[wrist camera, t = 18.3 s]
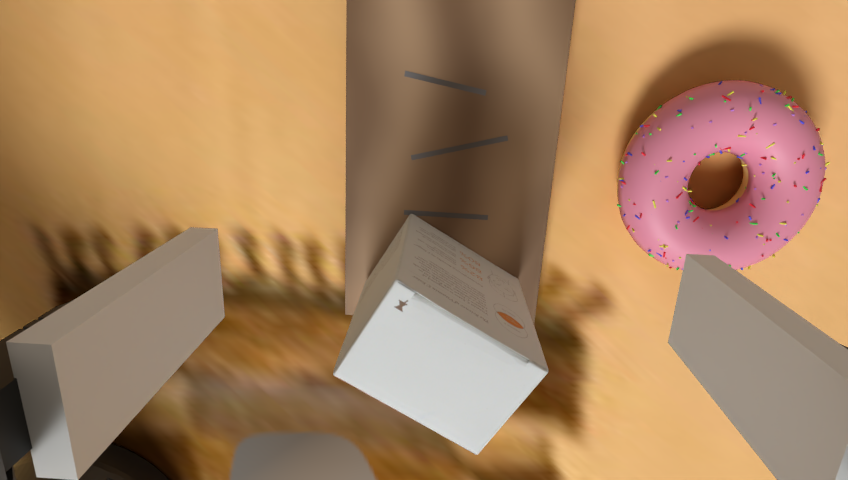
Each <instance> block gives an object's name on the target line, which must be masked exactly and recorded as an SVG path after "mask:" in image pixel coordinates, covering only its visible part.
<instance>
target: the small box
mask: <svg viewBox="0 0 848 480" xmlns="http://www.w3.org/2000/svg"><path fill="white" fill-rule="evenodd" d="M547 373H548V367H547V364H546V361H545V358H544V355H543V352H542V349H541V346H540V343H539V340H538V337H537V333H536V330H535V328H534V324H533V321H532V319H531V315H530V312H529V309H528V307H527V304H526V301H525V298H524V295H523V292H522V289H521V286H520V283H519V280H518V279H517V278H516V277H514V276H512V275H511V274H509V273H507V272H506V271H504V270H503V269H501V268H499V267H498V266H496V265H494V264H493V263H491V262H489V261H488V260H486V259H485V258H483V257H481V256H480V255H478V254H477V253H475V252H473V251H472V250H470V249H468V248H467V247H465V246H464V245H462V244H460V243H459V242H457V241H456V240H454V239H452V238H451V237H449V236H448V235H446V234H444V233H443V232H441V231H439V230H438V229H436V228H434V227H433V226H431V225H430V224H428V223H426V222H425V221H423V220H422V219H420V218H418V217H417V216H416V215H414V214H410V215H409V216H408V218H407V220H406V221H405V223H404V224H403V226H402V227H401V229H400V230H399V232H398V233H397V235H396V236H395V238H394V239H393V241H392V242H391V244H390V245H389V247H388V248H387V250H386V252H385V253H384V255H383V256H382V258H381V259H380V261H379V262H378V264H377V265H376V267H375V268H374V270H373V271H372V273H371V274H370V276H369V277H368V279H367V281H366V282H365V284H364V287H363V290H362V293H361V295H360V298H359V301H358V304H357V307H356V309H355V312H354V315H353V318H352V320H351V323H350V326H349V329H348V332H347V335H346V338H345V340H344V343H343V345H342V348H341V351H340V354H339V356H338V359H337V362H336V365H335V368H334V372H333V375H334V376H335V377H337V378H339V379H341V380H343V381H345V382H346V383H348V384H350V385H352V386H354V387H355V388H357V389H359V390H361V391H362V392H364V393H366V394H368V395H370V396H372V397H373V398H375V399H377V400H379V401H381V402H382V403H384V404H386V405H388V406H390V407H392V408H393V409H395V410H397V411H399V412H401V413H402V414H404V415H406V416H408V417H409V418H411V419H413V420H415V421H417V422H418V423H420V424H422V425H424V426H426V427H428V428H429V429H431V430H433V431H435V432H436V433H438V434H440V435H442V436H443V437H445V438H447V439H449V440H451V441H453V442H454V443H456V444H458V445H460V446H461V447H463V448H465V449H467V450H469V451H470V452H472V453H474V454H475V455H477V454H479V453H480V451H481V450H482V449H483V448H484V447H485V445H486V444H487V443H488V442H489V441H490V440H491V438H492V437H493V436H494V435H495V434H496V433H497V431H498V430H499V429H500V428H501V427H502V426H503V424H504V423H505V422H506V421H507V420H508V419H509V417H510V416H511V415H512V414H513V413H514V412H515V410H516V409H517V408H518V407H519V406H520V405H521V403H522V402H523V401H524V400H525V399H526V398H527V396H528V395H529V394H530V393H531V392H532V391H533V389H534V388H535V387H536V386H537V385H538V384H539V382H540V381H541V380H542V379H543V378H544V377H545V376H546V374H547Z"/></svg>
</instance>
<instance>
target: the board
mask: <svg viewBox="0 0 848 480" xmlns="http://www.w3.org/2000/svg"><path fill="white" fill-rule="evenodd" d="M575 1H576V0H347V38H346V259H345V314H348V315H354V312H355V309H356V307H357V304H358V301H359V298H360V295H361V293H362V290H363V287H364V284H365V282H366V281H367V279H368V277H369V276H370V274H371V273H372V271H373V270H374V268H375V267H376V265H377V264H378V262H379V261H380V259H381V258H382V256H383V255H384V253H385V252H386V250H387V248H388V247H389V245H390V244H391V242H392V241H393V239H394V238H395V236H396V235H397V233H398V232H399V230H400V229H401V227H402V226H403V224H404V223H405V221H406V220H407V218H408V216H409V215H410V214H414V215H416V216H417V217H418V218H420V219H422V220H423V221H425V222H426V223H428V224H430V225H431V226H433V227H434V228H436V229H438V230H439V231H441V232H443V233H444V234H446V235H448V236H449V237H451V238H452V239H454V240H456V241H457V242H459V243H460V244H462V245H464V246H465V247H467V248H468V249H470V250H472V251H473V252H475V253H477V254H478V255H480V256H481V257H483V258H485V259H486V260H488V261H489V262H491V263H493V264H494V265H496V266H498V267H499V268H501V269H503V270H504V271H506V272H507V273H509V274H511V275H512V276H514V277H516V278H517V279H518V280H519V283H520V286H521V289H522V292H523V295H524V298H525V301H526V304H527V307H528V309H529V312H530V315H531V319H532V321H533V324H534V320H535V312H536V305H537V297H538V289H539V281H540V273H541V266H542V258H543V250H544V242H545V235H546V227H547V219H548V211H549V203H550V196H551V188H552V180H553V172H554V165H555V157H556V149H557V141H558V133H559V126H560V118H561V110H562V102H563V95H564V87H565V79H566V71H567V63H568V56H569V48H570V40H571V32H572V25H573V17H574V9H575Z"/></svg>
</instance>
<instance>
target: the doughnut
mask: <svg viewBox="0 0 848 480" xmlns="http://www.w3.org/2000/svg"><path fill="white" fill-rule="evenodd" d="M785 93H786V91H784V93H782V92H780V90H776V89H775V88H772V87H769V86H766V85H763V84H759V83H755V82H750V81H741V80H727V81H718V82H713V83H709V84H705V85H701V86H698V87H695V88H692V89H690V90H687V91H685V92H683V93H681V94H680V95H678V96H676V97H674V98H672V99H671V100H669V101H667V102H666V103H664V104H663V105H660V106H659V107H658V108H657V110H655V111H654V112H653V113H652V114H651V115H650V116H649V117H648V118H647V119H646V120H645V121H644V122H643V123H642V124H641V125H640V127H639V128H638V129H637V131H636V132H635V133H634V135H633V136H632V138H631V140H630V141H629V143H628V145H627V147H626V149H625V152H624V154H623V157H622V160H621V161H620V162H621V163H620V167H619V171H618V178H617V197H618V203H619V204H617V206H619V209H620V214H621V218H622V220H623V223H624V225H625V227H626V229H627V230H628V232H629V233H630V235H631V237H632V238H633V239H634V241H635V242H636V243H637V244H638V245H639V246H640V248H642V249H643V250H644V251H645V252H646V253H648V254H649V256H651V257H653V258H655V259H656V260H658V261H660V262H661V263H663V264H665V265H667V267H668V266H670V267H669V268H672V267H673V268H676V269H677V270H678V269H681V270H683V268H684V263H685V258H686V254H699V255H715V256H716V257H718V258H719V259H720V260H722V261H723V262H725V263H726V264H727V265H729V266H730V267H732V268H733V269H734V270H737V269H741V270H743V268H744V267H747V266H749V267H748V269H750V267H751V265H753V264H756V263H758V262H760V261H762V260H764V259H766V258H768V257H769V256H771V255H772V256H773V258H774V257H775V255H774V253H775V252H777V251H778V250H780V249H781V248H782V247H784V246H785V245H786V244H787V243H788V242H789V241H790V240H791V239H792V238H793V237H794V236H795V235H796V234H797V233H799V231H800V230H801V229H802V227H803V226H804V225H805V223H806V222H807V221H808V219H809V218H810V216H811V214H812V213H813V211H814V209H815V207H816V206H818V204H817V203H818V201H819V200H820V198H819V197H820V194H821V192H822V186H823V181H825V180H826V178H824V175H825V170H826V169H827V168H826V167H825V166H826V165H828V164H829V163H830V162H827V163H826V164H825V156H824V150H823V145H824V144H823V143H822V142H821V139H820V136H819V133H818V130H820V129H819V128H818V129H816V127H815V125H814V124H813V122H812V120H811V119H810V117H809V116H808V115H807V114H806V113H807V111H804V110H803V109H802V108H801V107H800V106H799V105H797V104H796V103H795V102H794V98H792V96H789V97H787V96H786V95H785ZM790 98H792V100H791V99H790ZM717 152H720V153H721V154H722V152H728V153H732V154H734V155H736V156H737V158H739V159H740V160H741V162H742V164H741V166H743V179H742V183H741V185H740V187H739V189H738V191H737V192H736V194H735V195H734V196H733V197H732V198H731V199H730V200H729V201H728V202H727V203H725V204H723V205H722V206H720V207H717V208H714V209H707V210H706V209H702V208H700V207H698V206H697V205H695V203H694V202H693V200H692V199H691V198H690V197H689V195H688V192H692V190H688V182H689V178H690V176H691V174H692V172H693V170H694V169H695V167H696V166H697V165H700V162H701V160H703V159H704V158H705V157H707V158H709V157H710V155H715V153H717Z"/></svg>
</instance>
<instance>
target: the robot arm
mask: <svg viewBox="0 0 848 480" xmlns="http://www.w3.org/2000/svg"><path fill="white" fill-rule="evenodd" d="M224 317H225V314H224V302H223V290H222V278H221V265H220V253H219V241H218V229H213V228H194V227H191V228H189V229H187V230H186V231H184V232H183V233H181V234H179V235H178V236H176V237H174V238H173V239H171V240H170V241H168V242H166V243H165V244H163V245H162V246H160V247H158V248H157V249H155V250H154V251H152V252H150V253H149V254H147V255H145V256H144V257H142V258H141V259H139V260H137V261H136V262H134V263H133V264H131V265H129V266H128V267H126V268H124V269H123V270H121V271H120V272H118V273H116V274H115V275H113V276H112V277H110V278H108V279H107V280H105V281H104V282H102V283H100V284H99V285H97V286H95V287H94V288H92V289H91V290H89V291H87V292H86V293H84V294H83V295H81V296H79V297H78V298H76V299H74V300H73V301H70V302H67V303H65V304H62V305H59V306H57V307H55V308H53V309H52V310H50V311H48V312H47V313H45V314H43V315H42V316H40V317H39V318H38V320H34V321H32V322H30V323H29V324H27V325H25V326H24V327H23V329H19V330H17V331H16V332H14V333H12V334H11V335H9V336H7V337H6V338H4V339H2V340H1V341H0V480H168V479H167V478H166V477H165V476H164V475H163V474H162V473H161V472H160V471H159V470H158V469H157V468H155V467H154V466H153V465H152V464H150V463H149V462H148V461H146V460H144V459H143V458H141V457H140V456H138V455H136V454H134V453H132V452H130V451H128V450H126V449H124V448H121V447H119V446H116V445H113V444H111V443H112V442H113V441H114V440H115V438H116V437H117V436H118V435H119V434H120V433H121V432H122V431H123V429H124V428H125V427H126V426H127V425H128V424H129V423H130V422H131V421H132V419H133V418H134V417H135V416H136V415H137V414H138V413H139V412H140V411H141V409H142V408H143V407H144V406H145V405H146V404H147V403H148V402H149V401H150V399H151V398H152V397H153V396H154V395H155V394H156V393H157V392H158V391H159V389H160V388H161V387H162V386H163V385H164V384H165V383H166V382H167V381H168V379H169V378H170V377H171V376H172V375H173V374H174V373H175V372H176V370H177V369H178V368H179V367H180V366H181V365H182V364H183V363H184V362H185V360H186V359H187V358H188V357H189V356H190V355H191V354H192V353H193V352H194V350H195V349H196V348H197V347H198V346H199V345H200V344H201V343H202V342H203V340H204V339H205V338H206V337H207V336H208V335H209V334H210V333H211V332H212V330H213V329H214V328H215V327H216V326H217V325H218V324H219V323H220V322H221V320H222V319H223V318H224ZM668 343H669V345H670V346H671V347H672V348H673V350H674V351H675V352H676V353H677V355H678V356H679V357H680V358H681V360H682V361H683V362H684V363H685V365H686V366H687V367H688V368H689V370H690V371H691V372H692V373H693V375H694V376H695V377H696V378H697V380H698V381H699V382H700V383H701V385H702V386H703V387H704V388H705V390H706V391H707V392H708V394H709V395H710V396H711V397H712V399H713V400H714V401H715V402H716V404H717V405H718V406H719V407H720V409H721V410H722V411H723V412H724V414H725V415H726V416H727V417H728V419H729V420H730V421H731V422H732V424H733V425H734V426H735V427H736V429H737V430H738V431H739V432H740V434H741V435H742V436H743V437H744V439H745V440H746V441H747V442H748V444H749V445H750V446H751V447H752V449H753V450H754V451H755V452H756V454H757V455H758V456H759V458H760V459H761V460H762V461H763V463H764V464H765V465H766V466H767V468H768V469H769V470H770V471H771V473H772V474H773V475H774V476H775V478H776V479H777V480H848V347H846V346H843V345H841V344H839V343H838V342H836V341H835V340H833V339H832V338H831V337H829V336H828V335H826V334H825V333H824V332H822V331H821V330H819V329H818V328H817V327H815V326H814V325H812V324H811V323H809V322H808V321H807V320H805V319H804V318H802V317H801V316H800V315H798V314H797V313H795V312H794V311H792V310H791V309H790V308H788V307H787V306H785V305H784V304H783V303H781V302H780V301H778V300H777V299H776V298H774V297H773V296H771V295H770V294H768V293H767V292H766V291H764V290H763V289H761V288H760V287H759V286H757V285H756V284H754V283H753V282H751V281H750V280H749V279H747V278H746V277H744V276H743V275H742V274H740V273H739V272H737V271H736V270H734V269H733V268H732V267H730V266H729V265H727V264H726V263H725V262H723V261H722V260H720V259H719V258H718V257H716V256H715V255H699V254H686V258H685V263H684V268H683V272H682V277H681V282H680V287H679V292H678V297H677V302H676V306H675V311H674V316H673V321H672V326H671V331H670V335H669V340H668Z"/></svg>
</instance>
